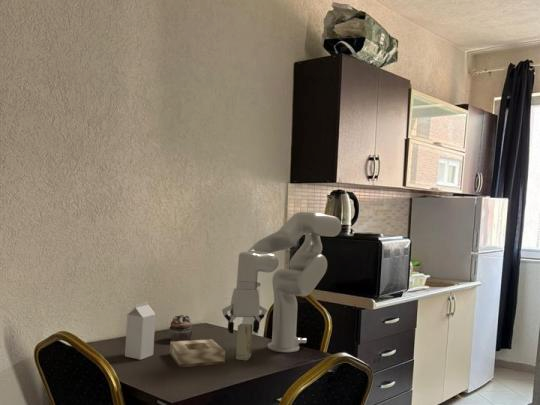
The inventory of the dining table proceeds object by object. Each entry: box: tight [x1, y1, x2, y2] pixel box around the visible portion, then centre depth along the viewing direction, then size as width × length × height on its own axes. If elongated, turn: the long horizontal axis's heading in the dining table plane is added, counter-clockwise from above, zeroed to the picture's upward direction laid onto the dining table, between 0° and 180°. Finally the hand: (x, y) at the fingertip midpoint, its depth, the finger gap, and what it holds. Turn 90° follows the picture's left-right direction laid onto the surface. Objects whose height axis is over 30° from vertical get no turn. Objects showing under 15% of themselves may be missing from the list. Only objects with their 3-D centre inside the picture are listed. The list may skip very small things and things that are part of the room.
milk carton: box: [124, 301, 156, 361], centre depth 175 cm, size 7×7×19 cm
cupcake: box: [168, 314, 194, 342], centre depth 198 cm, size 10×10×10 cm
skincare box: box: [235, 322, 253, 361], centre depth 179 cm, size 6×4×12 cm
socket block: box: [169, 338, 226, 368], centre depth 175 cm, size 16×16×4 cm
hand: (243, 332), depth 178 cm, fingers open, 9 cm apart
